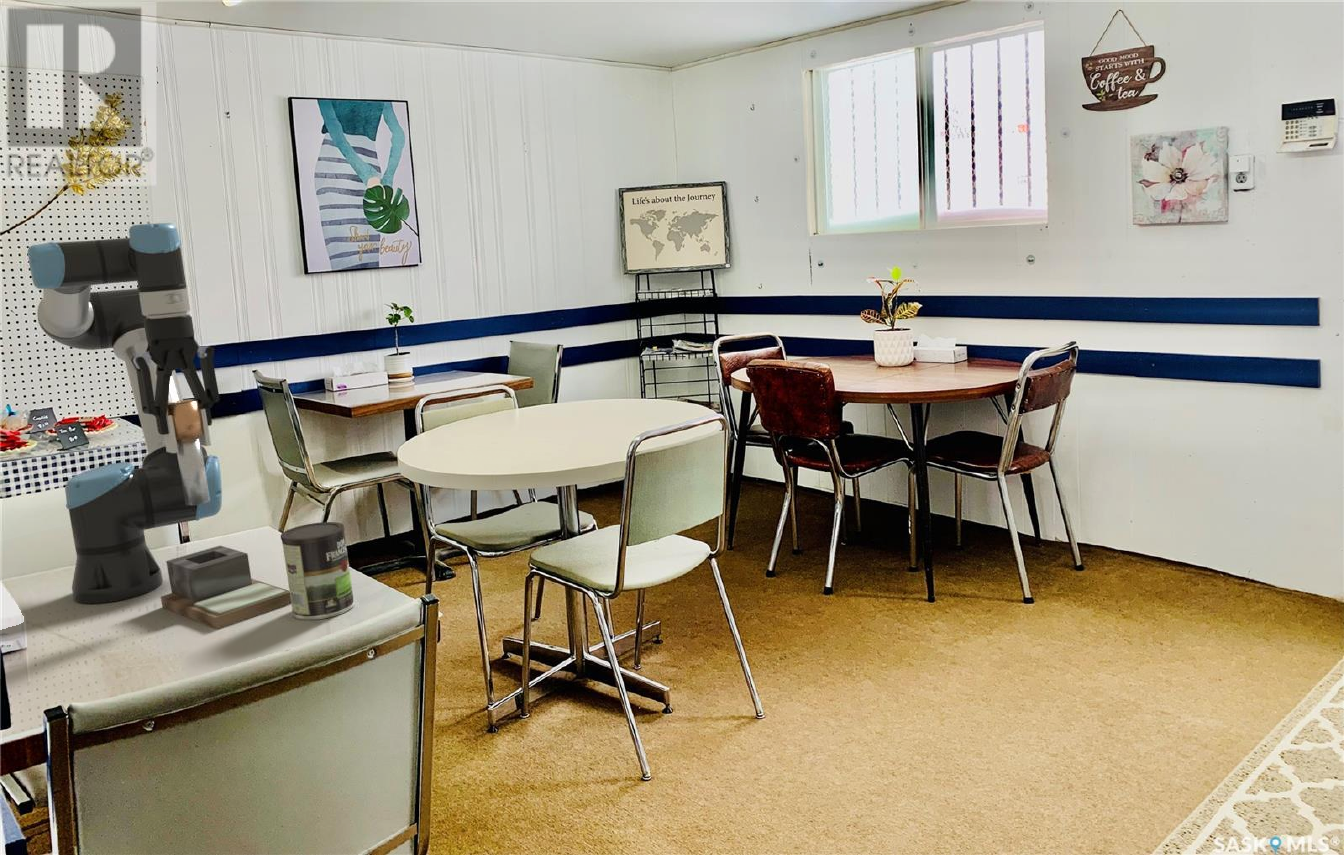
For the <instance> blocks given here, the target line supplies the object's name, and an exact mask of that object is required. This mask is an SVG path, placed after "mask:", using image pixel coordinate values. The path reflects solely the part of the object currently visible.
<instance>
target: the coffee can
mask: <svg viewBox="0 0 1344 855" xmlns="http://www.w3.org/2000/svg"><path fill="white" fill-rule="evenodd" d="M345 530H346V529H345V525H344V524H343V523H340V522H334V521H333V522H331V521H325V522H314V523H308V524H302V525H298V526H295V527H291V528H290V529H287V530H285V531H284V532H283V531H282V533H281V534H280V540H281V543H282V549H283V557H284V562H285V568H286V575H287V582H288V588H289V589H288V591H290V597H291V608H292V616H293V618H295V619H298V620H303V621H311V620H313V621H314V620H315V621H316V620H323V619H328V618H329V619H330V618H333V617H337V616H340V615H342V614H344V613H347V612H349V611H350V610H352V608H353V607H355V599H354V594H353V587H352V585H353V584H352V579H351V572H350V571H351V570H350V564H349V557H348V550H347V549H348V548H347V542H346V533H345Z"/></svg>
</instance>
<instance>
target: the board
mask: <svg viewBox="0 0 1344 855" xmlns="http://www.w3.org/2000/svg"><path fill="white" fill-rule="evenodd" d="M248 555H249V554H248V553H247V552H244V551H241V550H237V549H233V548H230V547H226V546H223V545H217V546H214V547H210V548H206V549H203V550H200V551H197V552H193V553H189V554H186V555H183V556H180V557H175V558H172V559H169V560H166V561H165V562H166V567H167V574H168V579H169V584H170V585H169V586H170V592H171V593H168V594H165V595H162V596H160V601H161V607H162V608H164V609H165V610H169V611H171V612H174V613H176V614H179V615H182V616H183V617H186V618H189V619H191V620H194V621H195V622H199V623H202V624H203V625H206V626H209V627H211V628H213V629H216V630H218V629H221V628H225V627H228V626H231V625H232V624H236V623H238V622H242V621H243V620H247V619H251V618H253V617H257V616H258V615H262V614H264V613H268V612H270V611H273V610H276V609H279V608H281V607H284V606H287V605H292V603H291V597H290V590H289V589H284V588H282V587H279V586H276V585H274V584H273V585H272V584H270V583H266V582H263V581H261V580H257V579H255V578H254V579H253V578H252V575H251V567H250V561H249V556H248Z"/></svg>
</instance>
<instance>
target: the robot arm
mask: <svg viewBox="0 0 1344 855" xmlns="http://www.w3.org/2000/svg"><path fill="white" fill-rule="evenodd" d="M178 232H179V230H178V228H177V226H176V225H175V224H174V223H173V222H159V223H145V224H134V225H132V226H131V225H130V227H129V229H128V233H129V234H128V236H129V237H121V238H111V239H110V238H109V239H97V240H96V239H95V240H77V241H76V240H75V241H60V242H54V241H50V242H46V243H40V244H38V243H37V244H33V245H30V246H29V247H28V248H27V257H28V265H29V271H30V275H31V279H32V280H31V281H32V283H33V286H34V287H35V288H36V289H39V290H42V294H43V295H42V296H43V297H42V299H41V300H40V302H39V304H38V306H37V311H36V312H37V314H36V315H37V321H38V324H39V326H40V328H41V329H42V331H43V332H44V333H45V334H46V335H47V336H48V337H49V338H51V339H52V340H53V341H56V342H57V343H59V344H62V345H65V346H67V347H69V348H72V349H73V348H74V349H79V350H83V351H84V350H85V351H87V350H88V351H96V350H105V349H112V351H113V353H114V355H115V357H116V358H118V359H119V360H121V361H123V362H124V363H125V367H126V371H127V376H128V379H129V383H130V387H131V390H132V391H131V392H132V395H133V398H134V402H135V405H136V410H137V414H138V418H139V421H140V425H141V429H142V434H143V437H144V440H145V441H144V442H145V445H146V449H147V452H148V453H147V454H146V455H145V456H144V457H143V459H142V462H141V463H142V467H139V468H135V467H134V465H133V464H132V463H130V462H127V461H126V462H125V461H121V462H117V463H109V464H105V465H102V466H98V467H94V468H92V469H89V470H86V471H83V472H81V473H79V474H76V475H75V476H73V477H71V478H70V479H69V480H68V481H67V482H66V484H65V487H64V492H65V493H64V494H65V499H66V504H65V507H66V510H68V514H69V519H70V520H69V521H70V525H71V531H72V537H73V542H74V548H75V554H76V562H75V567H74V572H73V579H72V583H71V584H72V585H71V591H72V596H73V600H74V601H75V602H77V603H80V604H82V603H83V604H104V603H111V602H116V601H121V600H126V599H130V598H131V599H132V598H134V597H137V596H141V595H143V594H146V593H149V592H151V591H153V590H155V589H157V588H158V587H159V586H161V585H162V583H163V580H164V579H163V575H162V570H161V568H160V566H159V564H158V562H157V561H156V559H155V557H154V555H153V553H152V552H151V551H150V548H149V547H148V545H147V543H146V537H145V531H146V530H151V529H156V528H163V527H165V526H173V525H177V524H182V523H188V522H192V521H199V520H200V519H201V520H202V519H205V518H210V517H212V516H216V515H217V514H218V513H219V512H220V511H221V509H222V503H223V502H222V501H223V493H222V492H223V490H222V489H223V488H222V476H221V466H220V462H219V459H218V456H216V455H211V454H210V455H208V453H207V449H206V448H205V447H209V446H211V445H212V444H211V437H210V431H209V430H210V429H209V427H211V426H212V424H213V419H212V413H211V409H212V407H213V405H214V404H215V403H218V402H220V399H221V397H220V394H219V388H218V387H219V386H218V381H217V376H216V370H215V364H214V354H215V348H214V347H213V346H203V345H199V343H198V342H197V341H196V339H195V329H194V323H193V316H191V315H190V314H188V312H190V311H191V305H190V298H189V291H188V286H187V282H186V276H185V268H184V262H183V254H182V248H181V246H182V242H181V239H180V237H179V233H178ZM130 282H137V288H129V289H117V290H116V289H115V290H105V291H101V290H100V291H93V292H92V291H91V290H92V286H95V285H97V286H98V285H104V284H105V285H107V284H115V283H116V284H119V283H130ZM196 354H197V357H198V358H199V364H200V369H201V375H202V380H203V384H202V381H201V379H200V377H199V375H198V373H197V367H196V365H195V363H194V358H195V357H196ZM178 369H179V370H180V372H181V373H182V374H183V376H184V378H185V380H186V383H187V385H188V386H189V389H190V391H191V394H192V395H193V398H194V399H197V400H198V405H199V411H200V418H201V424H202V430H203V434H202V435H200V441H201V447H202V454H203V460H204V466H205V472H206V478H207V485H208V491H209V497H210V501H209V502H207V503H204V504H200V505H186V504H185V498H184V492H183V486H182V480H181V474H180V468H179V462H178V456H177V452H178V448H177V442H176V436H175V430H174V424H173V418H172V415H167V407H168V402H173V401H178V400H184V397H183V394H182V390H181V387H180V384H179V380H178V375H177V372H176V370H178Z"/></svg>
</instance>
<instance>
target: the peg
mask: <svg viewBox="0 0 1344 855" xmlns="http://www.w3.org/2000/svg"><path fill="white" fill-rule="evenodd" d="M167 415H172V418H173V424H174V430H175V436H176V442H177V448H178V452H177V456H178V462H179V468H180V474H181V480H182V486H183V492H184V498H185V504H186V505H200V504H204V503H207V502H209V501H210V497H209V491H208V485H207V478H206V472H205V466H204V460H203V454H202V447H201V441H200V435H202V434H203V430H202V424H201V418H200V411H199V405H198V400H197V399H195V398H194V399H193V398H190V399H183V400H178V401H173V402H168V407H167Z"/></svg>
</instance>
